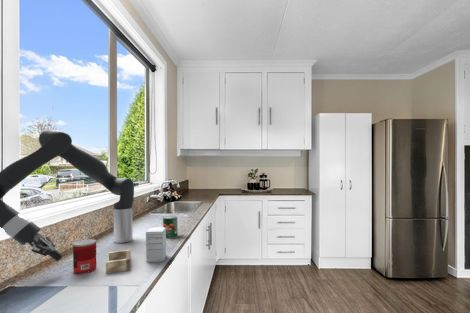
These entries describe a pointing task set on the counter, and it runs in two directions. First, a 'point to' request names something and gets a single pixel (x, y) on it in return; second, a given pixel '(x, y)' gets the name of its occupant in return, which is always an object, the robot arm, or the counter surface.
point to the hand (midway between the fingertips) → (60, 258)
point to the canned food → (84, 256)
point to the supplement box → (155, 244)
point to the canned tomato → (170, 226)
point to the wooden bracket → (118, 261)
